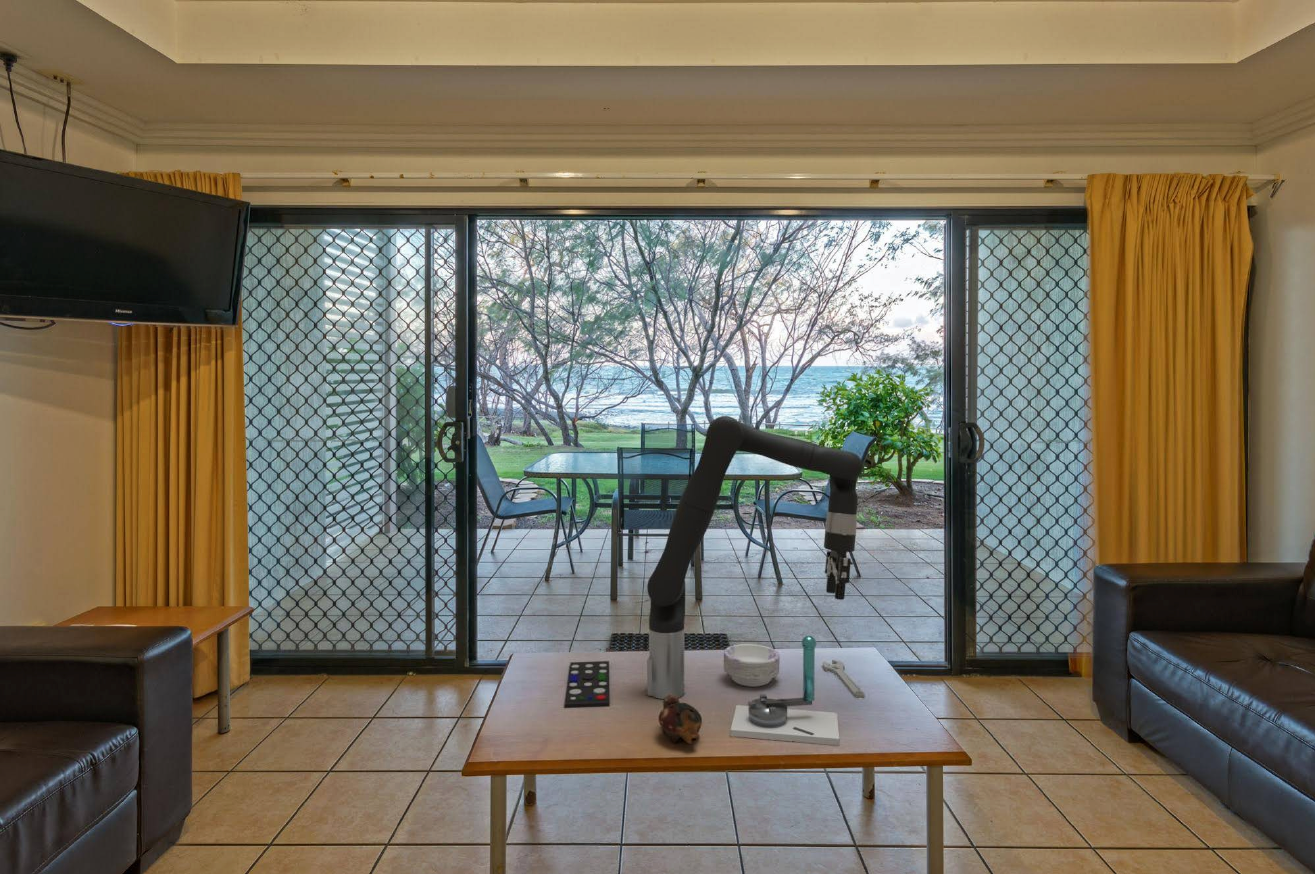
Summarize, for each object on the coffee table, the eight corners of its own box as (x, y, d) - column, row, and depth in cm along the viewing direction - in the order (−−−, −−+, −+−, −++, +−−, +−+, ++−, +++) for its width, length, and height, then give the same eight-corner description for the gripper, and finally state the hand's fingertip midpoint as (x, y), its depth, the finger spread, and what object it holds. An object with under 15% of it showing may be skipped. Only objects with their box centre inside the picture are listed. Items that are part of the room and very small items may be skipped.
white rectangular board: (730, 736, 168) (730, 728, 168) (736, 711, 181) (736, 704, 181) (839, 745, 163) (839, 737, 163) (836, 718, 177) (836, 711, 177)
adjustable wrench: (866, 700, 189) (866, 693, 189) (841, 700, 189) (841, 694, 189) (841, 665, 214) (841, 659, 214) (819, 665, 214) (819, 659, 214)
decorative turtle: (681, 720, 176) (684, 688, 176) (714, 751, 163) (717, 716, 162) (645, 727, 172) (647, 693, 171) (676, 758, 158) (679, 723, 158)
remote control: (564, 710, 184) (564, 702, 184) (570, 667, 214) (570, 660, 214) (609, 708, 185) (609, 700, 185) (609, 665, 215) (608, 659, 215)
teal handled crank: (754, 728, 168) (754, 645, 167) (744, 711, 177) (744, 633, 176) (822, 723, 170) (822, 641, 169) (809, 707, 179) (809, 629, 178)
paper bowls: (790, 686, 198) (790, 656, 197) (740, 694, 192) (740, 664, 191) (761, 667, 212) (761, 640, 211) (713, 675, 206) (713, 647, 205)
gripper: (819, 527, 192) (813, 589, 192) (832, 532, 178) (826, 600, 177) (847, 530, 192) (842, 592, 192) (863, 535, 178) (857, 602, 177)
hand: (834, 595), depth 185 cm, fingers open, 8 cm apart
